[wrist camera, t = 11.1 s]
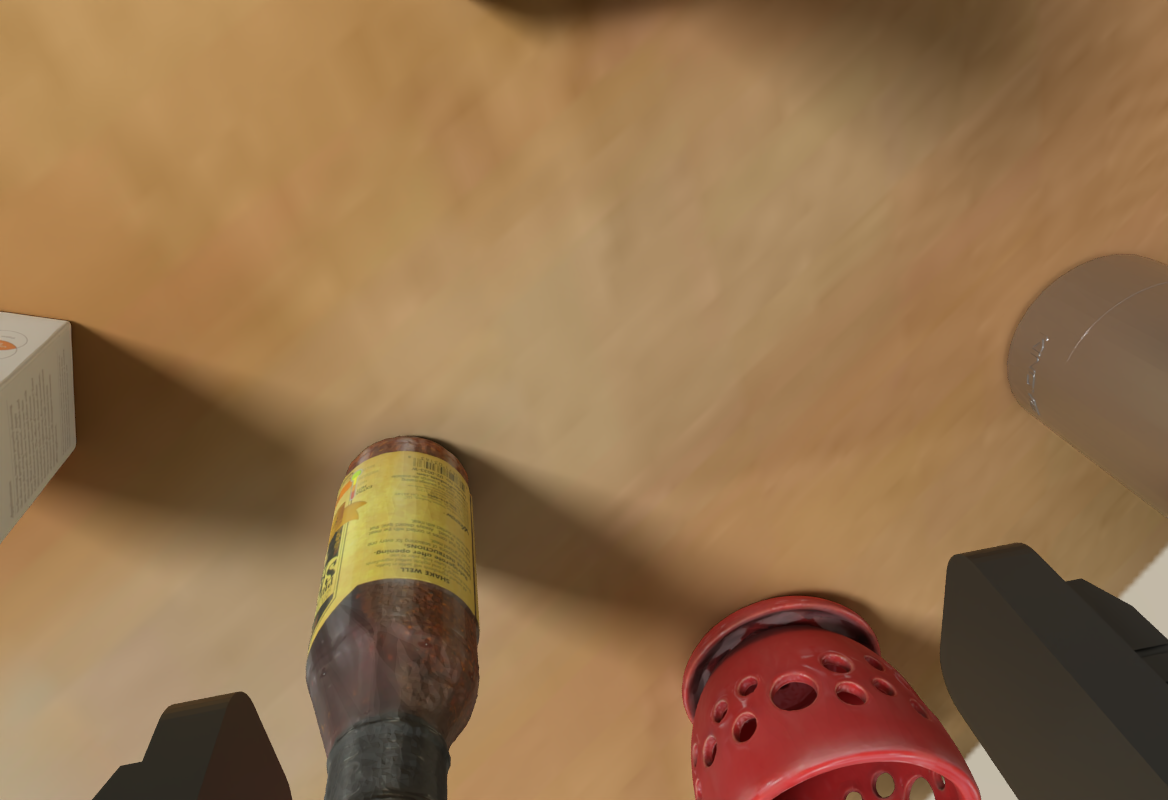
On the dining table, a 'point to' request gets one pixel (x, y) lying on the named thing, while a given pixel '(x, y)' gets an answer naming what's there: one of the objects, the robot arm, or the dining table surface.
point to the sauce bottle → (396, 624)
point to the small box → (33, 409)
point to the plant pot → (809, 711)
